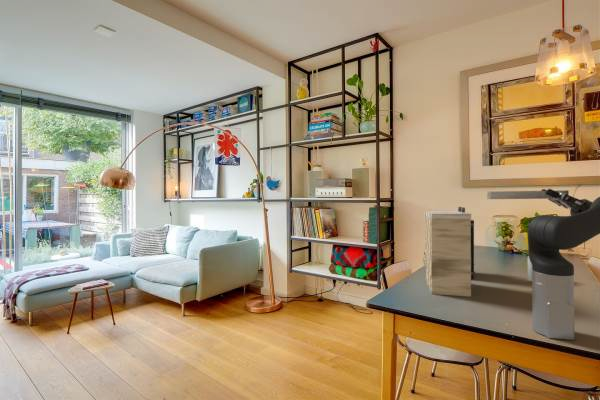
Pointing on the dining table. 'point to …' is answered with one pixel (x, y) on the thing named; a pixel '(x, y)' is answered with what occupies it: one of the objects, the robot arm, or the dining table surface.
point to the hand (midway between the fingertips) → (544, 191)
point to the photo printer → (529, 270)
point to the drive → (522, 194)
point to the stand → (448, 252)
